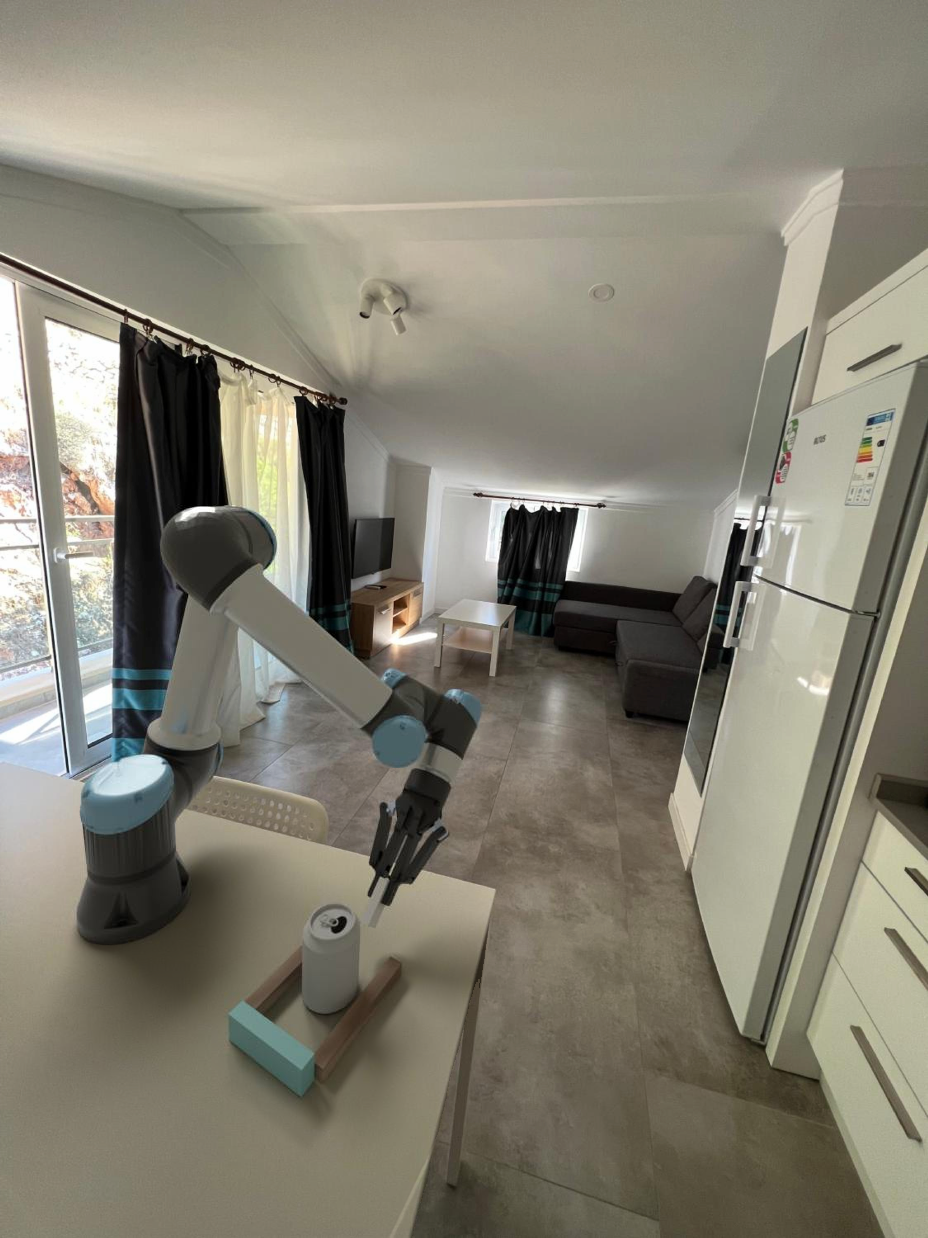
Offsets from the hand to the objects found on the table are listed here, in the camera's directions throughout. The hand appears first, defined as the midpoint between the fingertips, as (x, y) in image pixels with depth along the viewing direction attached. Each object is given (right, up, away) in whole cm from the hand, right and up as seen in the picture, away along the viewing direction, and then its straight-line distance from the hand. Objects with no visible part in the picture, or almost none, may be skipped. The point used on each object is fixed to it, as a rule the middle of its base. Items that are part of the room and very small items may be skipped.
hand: (367, 925), depth 74 cm
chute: (-5, -6, -7) cm, 10 cm away
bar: (-9, -7, -15) cm, 19 cm away
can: (-4, -6, -6) cm, 9 cm away
